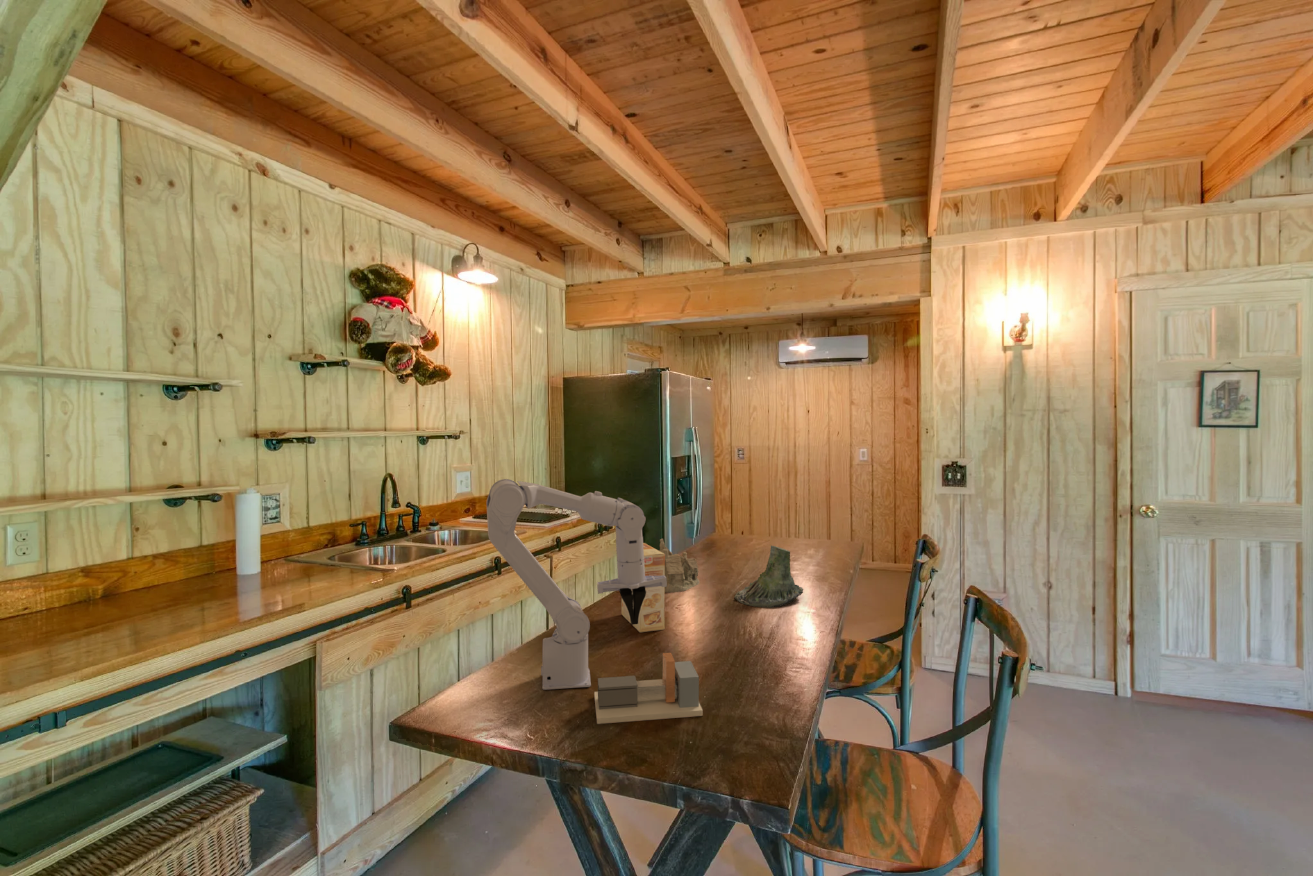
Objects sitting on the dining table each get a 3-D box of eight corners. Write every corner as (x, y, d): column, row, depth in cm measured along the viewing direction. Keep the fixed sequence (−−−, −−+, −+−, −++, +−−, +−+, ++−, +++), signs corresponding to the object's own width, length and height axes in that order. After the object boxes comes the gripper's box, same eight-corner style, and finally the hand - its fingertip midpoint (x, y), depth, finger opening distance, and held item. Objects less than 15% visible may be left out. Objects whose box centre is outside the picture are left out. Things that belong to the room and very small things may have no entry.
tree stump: (724, 592, 181) (736, 536, 183) (781, 604, 186) (793, 548, 187) (746, 608, 164) (760, 545, 165) (809, 620, 168) (822, 559, 169)
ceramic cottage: (655, 592, 179) (658, 543, 180) (650, 580, 196) (652, 535, 196) (705, 594, 181) (708, 546, 181) (695, 581, 198) (698, 537, 198)
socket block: (679, 707, 106) (680, 678, 106) (672, 690, 113) (673, 662, 113) (698, 706, 107) (698, 676, 106) (690, 688, 114) (690, 661, 113)
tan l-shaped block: (629, 705, 106) (629, 664, 106) (627, 694, 110) (627, 655, 110) (691, 700, 108) (691, 660, 108) (686, 690, 112) (686, 651, 112)
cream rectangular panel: (597, 723, 102) (597, 695, 102) (594, 697, 112) (594, 671, 112) (702, 715, 105) (702, 688, 105) (691, 690, 115) (691, 665, 115)
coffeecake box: (665, 629, 148) (665, 553, 148) (639, 633, 146) (639, 555, 145) (644, 611, 162) (645, 541, 162) (620, 614, 160) (620, 543, 159)
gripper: (597, 567, 118) (601, 633, 118) (667, 560, 120) (671, 625, 121) (595, 558, 125) (599, 621, 125) (662, 552, 127) (665, 613, 127)
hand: (634, 622), depth 123 cm, fingers closed
